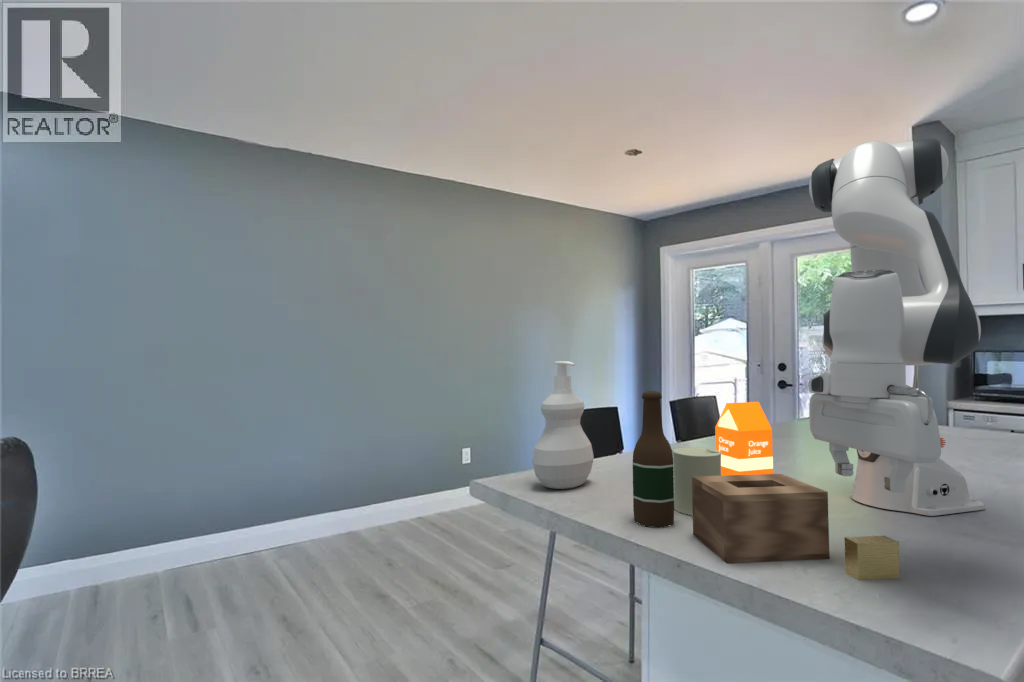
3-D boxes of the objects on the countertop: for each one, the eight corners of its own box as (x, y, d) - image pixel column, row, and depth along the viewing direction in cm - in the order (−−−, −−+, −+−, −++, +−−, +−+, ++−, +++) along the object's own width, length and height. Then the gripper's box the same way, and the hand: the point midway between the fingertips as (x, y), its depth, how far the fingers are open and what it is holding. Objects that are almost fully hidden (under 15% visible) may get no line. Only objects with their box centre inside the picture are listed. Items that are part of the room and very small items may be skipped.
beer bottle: (627, 515, 101) (625, 390, 102) (666, 514, 102) (664, 389, 102) (640, 529, 94) (638, 393, 94) (682, 527, 94) (680, 392, 95)
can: (727, 518, 99) (725, 454, 99) (676, 515, 101) (674, 452, 101) (718, 504, 108) (716, 445, 108) (671, 502, 110) (670, 444, 110)
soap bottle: (555, 496, 115) (553, 362, 116) (521, 486, 124) (519, 361, 124) (606, 483, 126) (604, 360, 126) (571, 475, 135) (569, 360, 135)
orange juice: (715, 491, 118) (714, 401, 119) (748, 487, 121) (746, 400, 121) (740, 500, 111) (738, 404, 111) (774, 496, 113) (772, 403, 114)
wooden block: (885, 570, 75) (884, 535, 75) (899, 578, 72) (898, 541, 73) (845, 572, 75) (844, 537, 75) (858, 580, 72) (857, 543, 72)
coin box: (782, 531, 91) (781, 473, 92) (829, 558, 79) (827, 491, 80) (693, 535, 90) (691, 476, 90) (726, 563, 78) (725, 495, 78)
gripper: (955, 388, 64) (957, 503, 63) (838, 380, 84) (839, 467, 84) (906, 388, 63) (908, 504, 63) (800, 380, 84) (801, 467, 83)
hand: (868, 482), depth 74 cm, fingers open, 8 cm apart
